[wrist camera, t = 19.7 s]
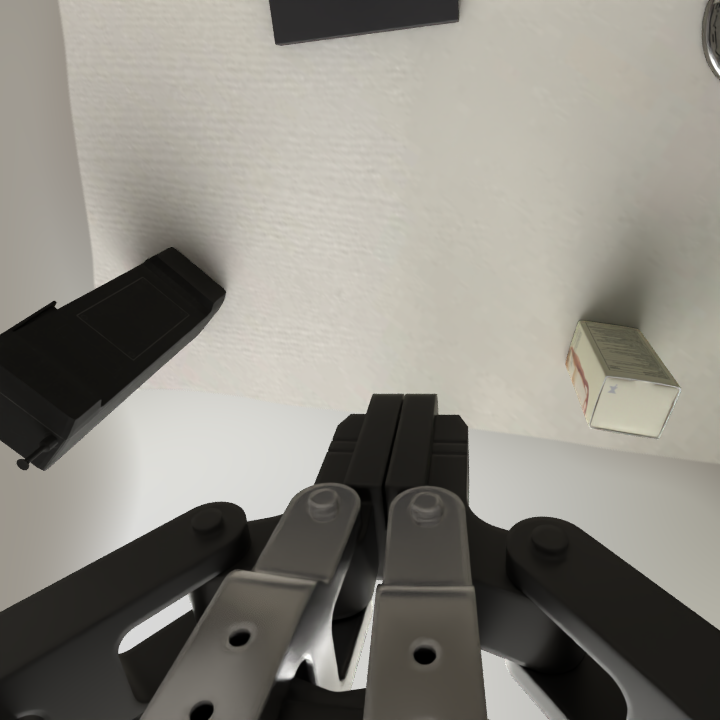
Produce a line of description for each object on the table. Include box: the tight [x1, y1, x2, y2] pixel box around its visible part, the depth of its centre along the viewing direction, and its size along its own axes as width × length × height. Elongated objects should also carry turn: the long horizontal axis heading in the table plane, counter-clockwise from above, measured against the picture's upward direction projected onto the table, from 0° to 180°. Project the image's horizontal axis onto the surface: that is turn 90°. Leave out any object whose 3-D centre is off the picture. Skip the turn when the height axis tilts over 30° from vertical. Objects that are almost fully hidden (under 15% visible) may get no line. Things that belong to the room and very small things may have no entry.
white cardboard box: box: [566, 321, 681, 439], centre depth 43 cm, size 5×4×10 cm
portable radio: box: [0, 247, 226, 471], centre depth 41 cm, size 8×6×25 cm
